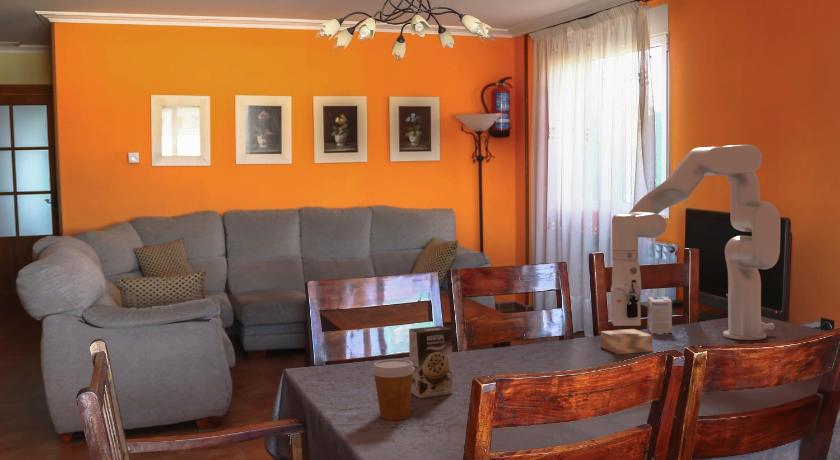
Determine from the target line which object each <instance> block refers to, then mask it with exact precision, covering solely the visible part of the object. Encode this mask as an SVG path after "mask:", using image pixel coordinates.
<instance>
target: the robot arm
mask: <svg viewBox="0 0 840 460" xmlns="http://www.w3.org/2000/svg"><path fill="white" fill-rule="evenodd" d="M762 163H763V154H762V152H761V150H760V149H759V148H758V147H757V146H756V145H753V144H736V145H735V144H732V145H723V146H707V147H706V146H705V147H704V146H703V147H696V148H693V149H691V150H690V151H689V152H687V154H686V155H685V157H684V158H682V159H681V161H680V162H679V164H678V165H677V166H676V167H675V168H674V170H673V171H672V172H671V173H670V175H669V176H668V177H667V178H666V179H665V180H664V181H663V182H662V183H660V184H659V185H657V186H655V188H653V189H652V190H650V191H649V192H648V193H646V194H644V196H643V197H641V199H640V200H638V201H637V203H636V204H635V205H634V206H633V208H632V209H631V210H630V211H629V213H619V214H615V215H613V216H612V218H611V252H612V253H611V259H612V260H611V261H612V268H611V269H612V270H611V285H610V289H611V288H614V289H618V290H621V291H623V294H624V295H626V296H627V300H628V304H627V317H628V318H635V317H638V300H639V297H640V298H641V295H642V276H641V268H640V262H639V239H640V238H646V239H657V238H660V237H661V236H662V235H663V234H665V232H666V230H667V228H668V227H667V225H668V224H667V221H666V219H665V218H664V217H663V216H662V215H661V214H660V213H661V212H662V211H664V210H666V209H668V208H670V207H673V206H676V205H678V204H680V203H683V202H684V201H686V200H688V199H690V196H691V195H693V193H694V191H695V190H696V189H697V188H698V187H699V185H700V184H701V183H702V182H703V181H704V179H706V177H707V176H725V177H726V179H727V181H728V184H729V187H730V209H729V210H730V224H731V226H732V228H733V229H735V230H737V231H740V232H745V233H747V232H748V233H751V235H736V236H734V237H732V238H730V239H729V240H728V241H727V243H726V245H725V247H724V256H725V257H724V258H725V262H726V268H727V283H728V284H727V288H728V289H727V291H728V293H727V295H728V296H727V301H728V302H727V303H728V305H727V306H728V307H727V310H728V312H727V315H728V316H727V317H728V318H727V320H728V322H727V323H728V325H727V327H728V329H727V330H724V331H723V332H722V335H723V337H724V338H727V339H731V340H737V341H738V340H739V341H740V340H741V341H756V340H757V341H758V340H763V339H766V338H767V333H766V332H765V331H766V330H774V329H775V324H774V323H773V322H770V323H769V322H767V323H765V322H763V321H762V305H761V304H762V296H761V295H762V279H761V274H760V272H759V269H760V270H768V269H771V268H773V267H774V266H775V265H776V264H777V262H778V261H779V258H780V253H781V252H780V251H781V216H780V215H781V214H780V212H779V209H778V208H777V207H776V206H775V205H774V204H772V203H771V202H768V201H761V188H760V181H759V177H758V175H757V173H756V171H757V170H759V168H760V167H761V165H762ZM632 291H634V293H629V292H632ZM630 296H632V298H630Z"/></svg>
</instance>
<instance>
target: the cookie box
mask: <svg viewBox="0 0 840 460" xmlns="http://www.w3.org/2000/svg"><path fill="white" fill-rule="evenodd" d="M452 332H453V331H452V329H451V328H449V327H446V326H442V325H437V326H436V325H435V326H427V327H417V328H416V327H415V328H409V329H408V337H409V338H408V339H409V340H408V342H409V343H408V344H409V346H408V347H409V349H408V350H409V356H408V357H409V361H411V362H412V364H413V367H414V368H415V369H414V372H413V375H412V386H411V394H412V395H414V396H416V397H417V398H419V399H422V398H429V397H430V398H431V397H437V396H445V395H452V394H454V393H453V392H454V390H453V389H454V387H453V385H454V383H453V345H452V344H453V343H452V340H453V339H452Z"/></svg>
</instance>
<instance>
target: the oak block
mask: <svg viewBox="0 0 840 460" xmlns="http://www.w3.org/2000/svg"><path fill="white" fill-rule="evenodd" d="M600 347H601V348H603V349H606V350H607V351H610V352H612V353H615V354H617V355H623V354H635V353H646V352H653V334H651V333H646V332H644V331H641V330H638V329H635V328H629V329H614V330H602V331H600Z"/></svg>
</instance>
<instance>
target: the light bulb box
mask: <svg viewBox="0 0 840 460" xmlns="http://www.w3.org/2000/svg"><path fill="white" fill-rule="evenodd" d="M647 330H648V331H649V332H651V333H672V334H673V301H672V299H670V298H669V296H647ZM651 333H650V334H651Z"/></svg>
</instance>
